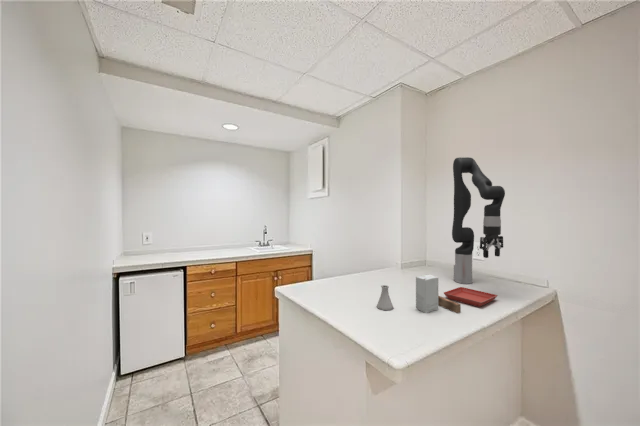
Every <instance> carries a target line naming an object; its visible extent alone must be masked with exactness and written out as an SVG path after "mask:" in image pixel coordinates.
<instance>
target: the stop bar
mask: <svg viewBox="0 0 640 426" xmlns="http://www.w3.org/2000/svg"><path fill="white" fill-rule="evenodd" d="M438 307H441V308H443V309H446V310H448V311H451V312H453V313H456V314H457V313H461V312H462V311H461V309H462V307H461V303H460V302H459V303H458V302H457V301H455V300H451V299H449V298H447V297H444V296H440V295H438Z"/></svg>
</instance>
